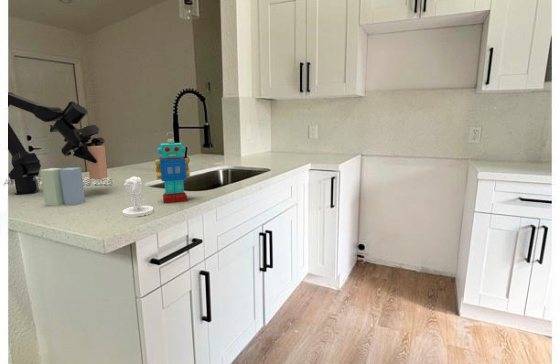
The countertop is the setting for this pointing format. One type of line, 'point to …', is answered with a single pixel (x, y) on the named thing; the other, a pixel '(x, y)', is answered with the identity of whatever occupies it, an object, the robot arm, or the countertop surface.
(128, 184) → the figurine
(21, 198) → the countertop surface
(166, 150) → the toy robot
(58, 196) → the sage post
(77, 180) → the slate post
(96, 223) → the countertop surface
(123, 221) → the countertop surface
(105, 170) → the terracotta post
